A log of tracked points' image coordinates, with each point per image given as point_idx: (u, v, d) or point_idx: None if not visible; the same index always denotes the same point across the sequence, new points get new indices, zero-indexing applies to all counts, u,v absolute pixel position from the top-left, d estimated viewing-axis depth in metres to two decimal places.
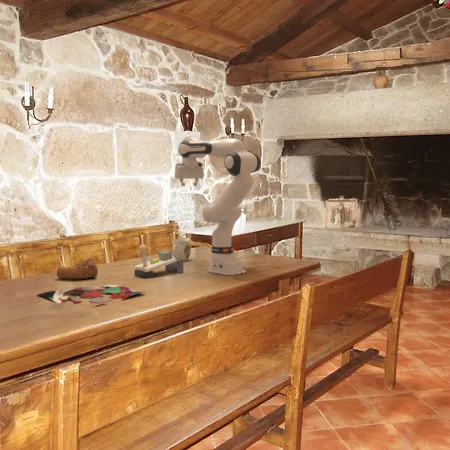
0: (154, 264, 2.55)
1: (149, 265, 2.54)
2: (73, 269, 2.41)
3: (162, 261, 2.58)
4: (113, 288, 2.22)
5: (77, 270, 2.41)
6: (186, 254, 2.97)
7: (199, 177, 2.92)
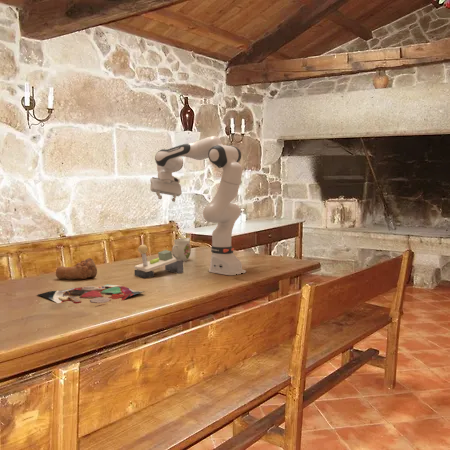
0: (154, 264, 2.55)
1: (149, 265, 2.54)
2: (72, 269, 2.41)
3: (162, 261, 2.58)
4: (113, 288, 2.22)
5: (76, 270, 2.41)
6: (186, 254, 2.97)
7: (176, 192, 2.87)
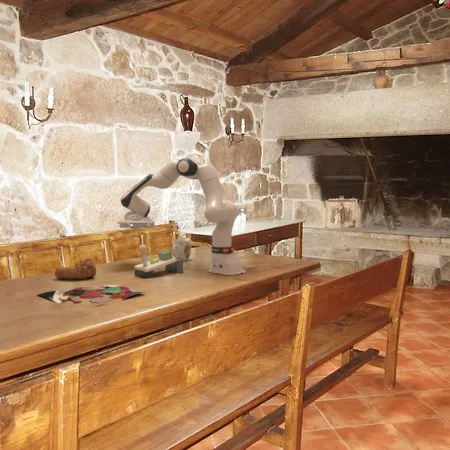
0: (154, 264, 2.55)
1: (149, 265, 2.54)
2: (71, 269, 2.41)
3: (162, 261, 2.58)
4: (113, 288, 2.22)
5: (75, 270, 2.41)
6: (186, 254, 2.97)
7: (148, 222, 2.71)
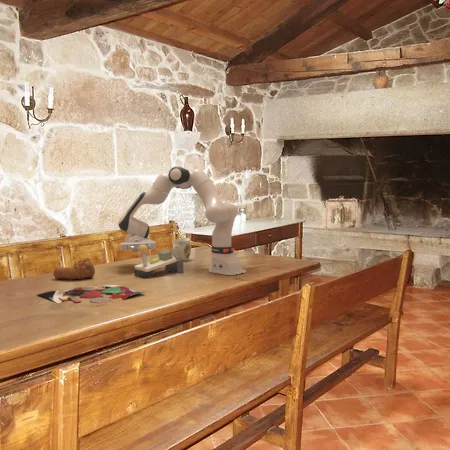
0: (154, 264, 2.55)
1: (149, 265, 2.54)
2: (70, 269, 2.41)
3: (162, 261, 2.58)
4: (113, 288, 2.22)
5: (74, 270, 2.41)
6: (186, 254, 2.97)
7: (150, 242, 2.65)
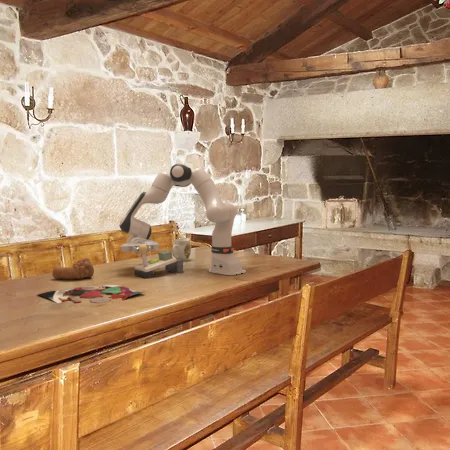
0: (154, 264, 2.55)
1: (149, 265, 2.54)
2: (69, 269, 2.41)
3: (162, 261, 2.58)
4: (113, 288, 2.22)
5: (73, 270, 2.41)
6: (186, 254, 2.97)
7: (152, 244, 2.58)
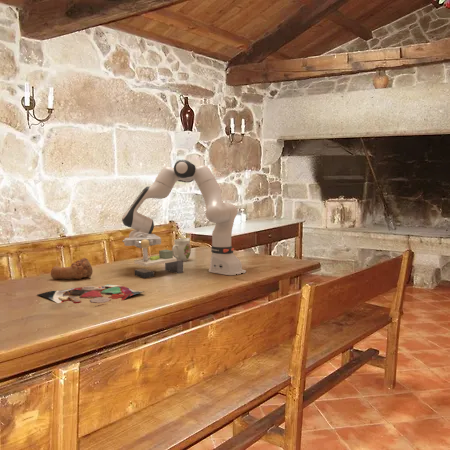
0: (154, 260, 2.54)
1: (149, 261, 2.54)
2: (68, 269, 2.41)
3: (162, 259, 2.58)
4: (113, 288, 2.22)
5: (72, 270, 2.41)
6: (186, 254, 2.97)
7: (154, 238, 2.59)
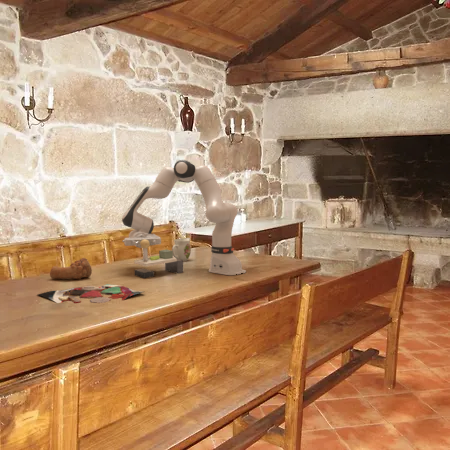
0: (154, 260, 2.54)
1: (149, 261, 2.54)
2: (67, 269, 2.41)
3: (162, 259, 2.58)
4: (113, 288, 2.22)
5: (71, 270, 2.41)
6: (186, 254, 2.97)
7: (154, 238, 2.59)
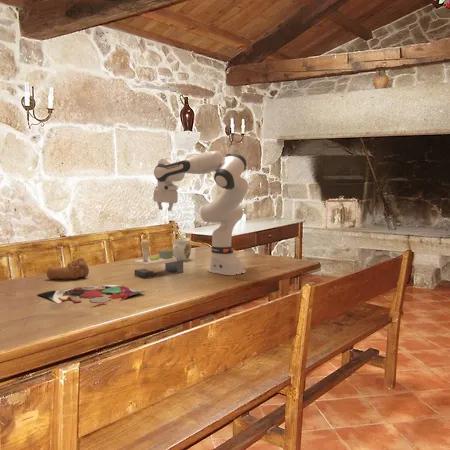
0: (154, 260, 2.54)
1: (149, 261, 2.54)
2: (64, 269, 2.40)
3: (162, 259, 2.58)
4: (113, 288, 2.22)
5: (68, 270, 2.40)
6: (186, 254, 2.97)
7: (168, 202, 2.69)
